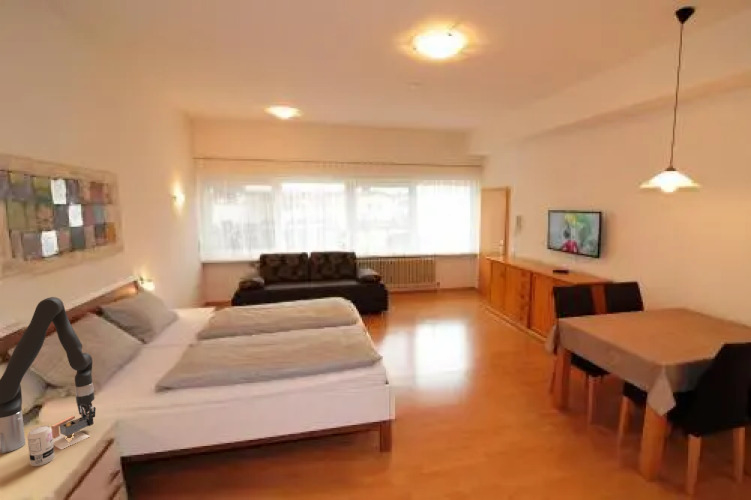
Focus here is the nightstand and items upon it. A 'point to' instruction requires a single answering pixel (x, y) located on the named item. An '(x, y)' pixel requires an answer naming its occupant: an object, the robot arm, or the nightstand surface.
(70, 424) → the cylinder
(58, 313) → the robot arm
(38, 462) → the supplement can
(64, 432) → the link
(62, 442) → the board
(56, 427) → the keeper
